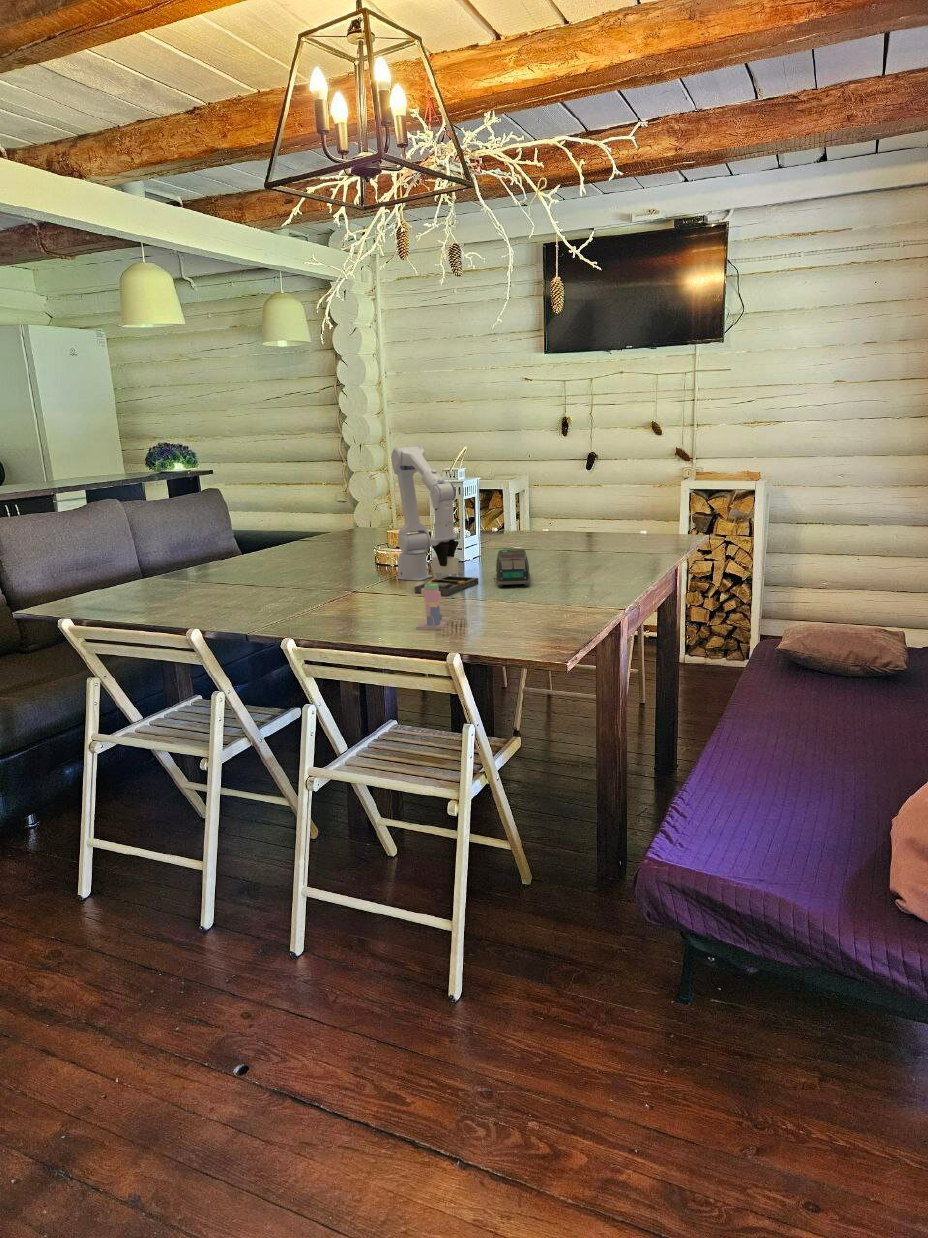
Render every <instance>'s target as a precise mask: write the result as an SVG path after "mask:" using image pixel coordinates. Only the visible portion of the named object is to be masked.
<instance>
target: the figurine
mask: <svg viewBox="0 0 928 1238" xmlns="http://www.w3.org/2000/svg"><path fill="white" fill-rule="evenodd" d="M427 582H428V583H427ZM427 582H425V583H426V585H425V586H424V588H422V589H421V595H424V603H425V604H424V606H425V608H424V609H425V617H426V621H420V622H419V623H418V624H417V625H416V626H415V630H439V631H440V630H443V629H444V628H445V627H446V625H448V623H447V622H448V621H442V620H443V614H442V613H441V606H440V600H441V599H442V597H441V591H439V586H438V584H431V581H429V580H428V581H427Z"/></svg>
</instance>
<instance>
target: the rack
mask: <svg viewBox="0 0 928 1238" xmlns="http://www.w3.org/2000/svg"><path fill="white" fill-rule="evenodd" d="M429 581H431V584H438V586H439V591H441V596H442V597H444V596H445V597H449V596H451V595H454V594H456V593H459V592H462V591H465V590H467V589H469V588H471V587H474V586H478V585H479V584H480V582H479V577H473V576H471V577H470V576H457V575H445V576H442V577H439V578H431V579H429V580H428V581H427V582H423V583H422V584H419V585H416V586H414V594H418V595H420V594H421V589H422V588H424V586H425V585H426V583H428V582H429ZM421 595H422V594H421Z"/></svg>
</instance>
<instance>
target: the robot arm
mask: <svg viewBox="0 0 928 1238" xmlns="http://www.w3.org/2000/svg"><path fill="white" fill-rule="evenodd" d="M390 458H391V465H392V469H393V474H394V475H397V478H398V480H397V481H398V485H399V486H398V487H399V492H400V499H401V505H402V506H401V507H402V512H403V518H404V519H403V520H404V525H403V526H401V528H400V530H399V531H398V547H399V549H400V553H399V555H398V557H397V569H398V570H397V571H398V577H397V580H403V581H404V580H405V581H407V580H408V581H415V582H416V581H418V582H421V581H424V580H426V579H430V578H432V577H433V574H432V575H431V574H428V566H427V565H428V562H427V553H428V552H429V550H430V548H432V549H433V551H434V553H435V554H436V555H435V556H437V557H438V561H439V564H440V566H447V556H449V557H455V554H456V549H457V548H458V546H459V543H460V541H458V540H460V539H461V536H460V532H455V529H454V528H455V527H454V511H453V510H454V507H453V501H455V500H456V488H455V485H454V484H453V482H449V481H446V480H445V479H444V478H443V476H442V475H441V474H440V473H439V472H438V470H437V469H434V468H431V466H430V464H429V463H428V461H427V460H426V451H425V449H424V447H422V446H421V445H416V446H406V447H405V446H404V447H403V446H402V447H397V446H396V447H394V448H393V449H392V452H391V457H390ZM416 473H419V474H420V475H421V481H422V483H423V484H424V485H425V487H426V489H428V491H429V495H430V499H431V504H432V508H433V509H434V526H435V528H434V529H435V536H434V537H432V538H431V535H430V533H429V529H428V527H427V526H426V525H425V524H423V523H421V520H420V514H419V509H418V501H417V496H416V495H417V494H416V489H415V488H416V487H415V482H414V475H415V474H416Z"/></svg>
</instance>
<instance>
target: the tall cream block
mask: <svg viewBox="0 0 928 1238" xmlns="http://www.w3.org/2000/svg"><path fill="white" fill-rule="evenodd" d="M431 561H432V562H431V563H432V573H433V574H444V575H446V574H447V575H457V574H459V573H460V566H459V556H454V557H449V556H447V566H440V564H439V561H438V557H437V555H435V556H432V557H431Z"/></svg>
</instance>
